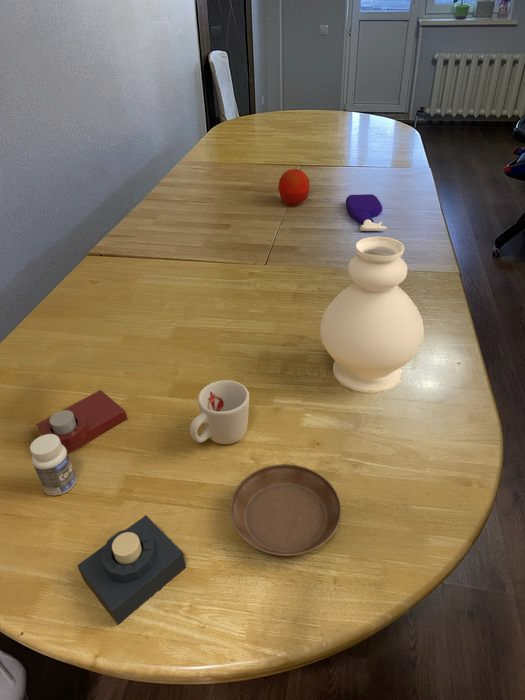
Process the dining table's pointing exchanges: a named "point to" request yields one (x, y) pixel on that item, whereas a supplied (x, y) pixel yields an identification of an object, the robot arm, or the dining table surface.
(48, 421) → the red socket plate
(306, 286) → the dining table surface
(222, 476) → the dining table surface
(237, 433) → the cup
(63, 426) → the light grey cylinder
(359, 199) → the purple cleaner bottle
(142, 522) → the dark knob button block
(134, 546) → the cylindrical peg
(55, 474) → the pill bottle
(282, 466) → the saucer
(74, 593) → the dining table surface
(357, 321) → the decorative vase
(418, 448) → the dining table surface
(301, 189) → the apple
